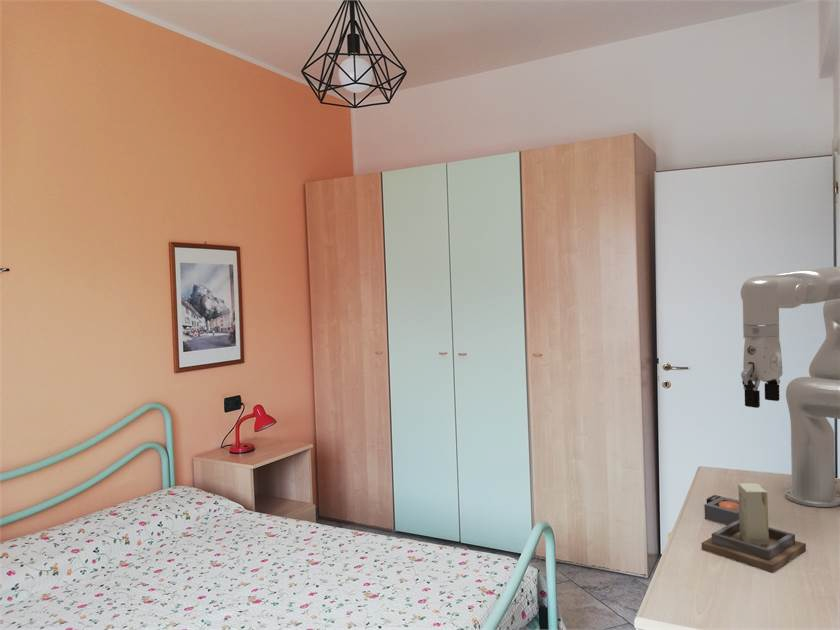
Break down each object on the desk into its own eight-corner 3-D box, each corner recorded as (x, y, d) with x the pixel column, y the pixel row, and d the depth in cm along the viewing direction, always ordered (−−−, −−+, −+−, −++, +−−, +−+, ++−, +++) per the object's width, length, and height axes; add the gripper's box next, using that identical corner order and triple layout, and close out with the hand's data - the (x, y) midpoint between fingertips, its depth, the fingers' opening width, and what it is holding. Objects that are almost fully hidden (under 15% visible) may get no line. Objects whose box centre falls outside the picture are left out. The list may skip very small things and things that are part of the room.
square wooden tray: (736, 530, 150) (735, 515, 150) (805, 550, 138) (805, 534, 138) (701, 549, 141) (701, 533, 141) (772, 572, 129) (772, 555, 129)
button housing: (721, 510, 163) (721, 496, 163) (754, 518, 156) (753, 504, 156) (704, 518, 158) (704, 504, 158) (737, 527, 152) (737, 513, 151)
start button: (725, 509, 160) (724, 499, 160) (742, 514, 157) (742, 504, 157) (715, 514, 158) (715, 504, 157) (733, 519, 154) (733, 508, 154)
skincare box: (769, 549, 136) (768, 492, 136) (747, 548, 137) (746, 492, 136) (760, 536, 143) (759, 482, 142) (738, 536, 144) (737, 482, 143)
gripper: (759, 336, 144) (761, 411, 145) (794, 329, 155) (795, 399, 156) (726, 334, 150) (728, 407, 151) (762, 327, 161) (763, 396, 162)
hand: (762, 403), depth 154 cm, fingers open, 9 cm apart
